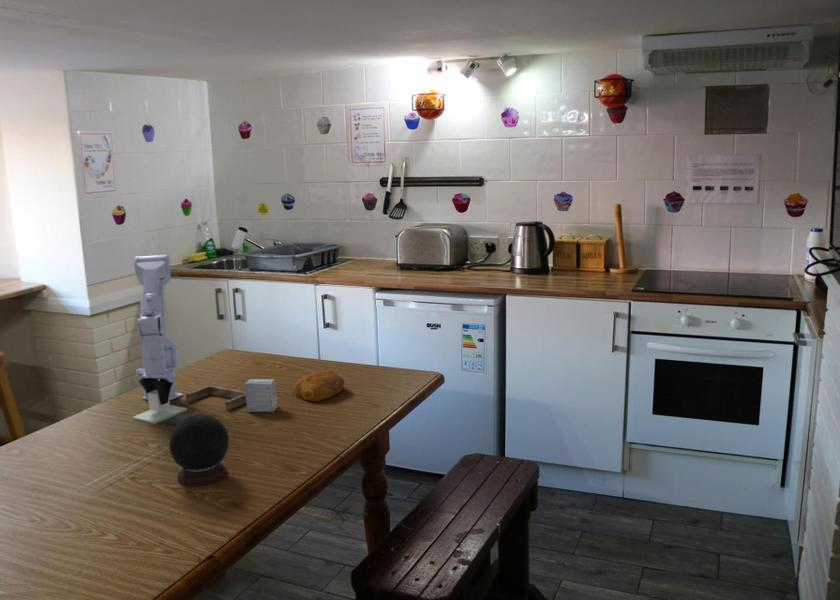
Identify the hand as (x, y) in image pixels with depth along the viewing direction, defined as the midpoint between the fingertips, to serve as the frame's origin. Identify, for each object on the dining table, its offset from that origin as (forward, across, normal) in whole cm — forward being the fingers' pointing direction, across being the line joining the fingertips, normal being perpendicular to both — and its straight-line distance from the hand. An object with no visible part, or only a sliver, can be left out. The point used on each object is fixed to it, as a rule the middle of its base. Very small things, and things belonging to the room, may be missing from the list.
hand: (158, 402), depth 217 cm
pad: (+4, 0, 0) cm, 4 cm away
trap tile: (+4, +9, -1) cm, 10 cm away
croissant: (+4, +31, +35) cm, 47 cm away
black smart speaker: (+4, +42, -25) cm, 49 cm away
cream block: (+2, 0, 0) cm, 2 cm away
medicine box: (+4, +24, +16) cm, 30 cm away
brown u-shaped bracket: (+4, +8, +16) cm, 18 cm away
